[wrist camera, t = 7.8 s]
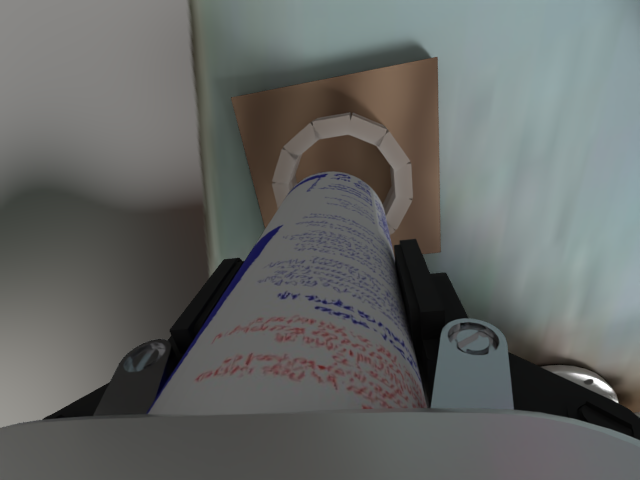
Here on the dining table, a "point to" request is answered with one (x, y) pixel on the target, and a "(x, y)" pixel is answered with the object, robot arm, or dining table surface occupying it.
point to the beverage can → (306, 316)
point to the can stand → (352, 142)
